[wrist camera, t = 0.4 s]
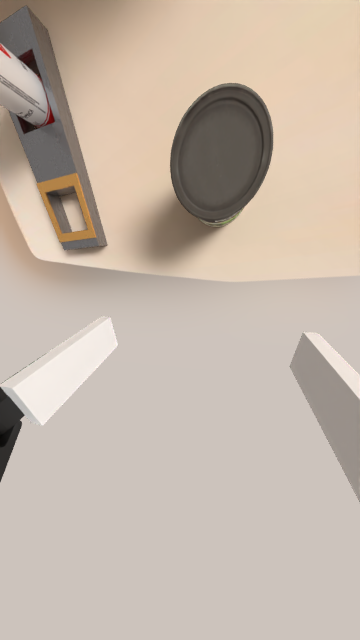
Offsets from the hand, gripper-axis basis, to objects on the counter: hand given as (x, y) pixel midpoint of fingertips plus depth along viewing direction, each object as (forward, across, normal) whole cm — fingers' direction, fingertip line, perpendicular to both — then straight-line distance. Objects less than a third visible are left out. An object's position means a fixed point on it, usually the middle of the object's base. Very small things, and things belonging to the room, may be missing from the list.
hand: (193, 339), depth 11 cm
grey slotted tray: (+27, -31, +20) cm, 46 cm away
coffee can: (+28, 0, +13) cm, 31 cm away
